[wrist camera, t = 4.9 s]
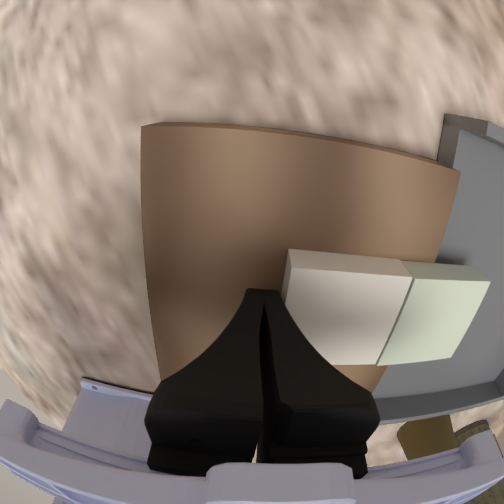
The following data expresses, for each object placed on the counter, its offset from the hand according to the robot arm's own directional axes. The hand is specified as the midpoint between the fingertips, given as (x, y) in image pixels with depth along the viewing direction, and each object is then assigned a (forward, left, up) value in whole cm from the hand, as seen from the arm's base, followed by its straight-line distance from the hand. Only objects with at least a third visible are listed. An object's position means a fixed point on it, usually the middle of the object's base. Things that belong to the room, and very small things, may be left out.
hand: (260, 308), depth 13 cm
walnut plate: (+1, 0, -3) cm, 3 cm away
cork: (+19, -17, -3) cm, 26 cm away
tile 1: (+8, 0, -1) cm, 8 cm away
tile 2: (+3, 0, -1) cm, 3 cm away
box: (+16, 0, -3) cm, 16 cm away
